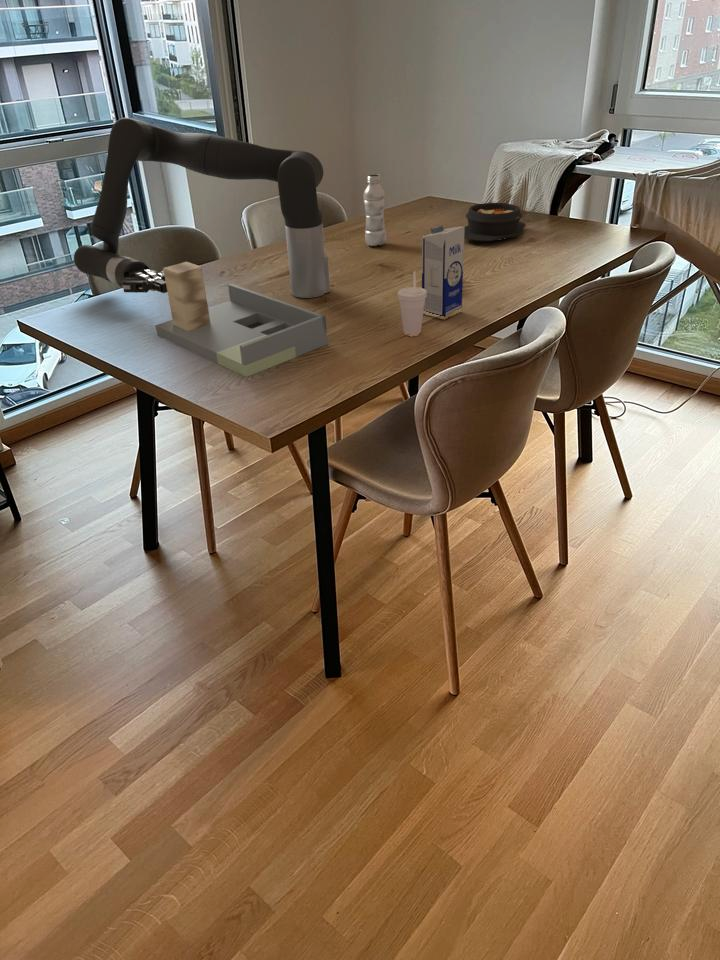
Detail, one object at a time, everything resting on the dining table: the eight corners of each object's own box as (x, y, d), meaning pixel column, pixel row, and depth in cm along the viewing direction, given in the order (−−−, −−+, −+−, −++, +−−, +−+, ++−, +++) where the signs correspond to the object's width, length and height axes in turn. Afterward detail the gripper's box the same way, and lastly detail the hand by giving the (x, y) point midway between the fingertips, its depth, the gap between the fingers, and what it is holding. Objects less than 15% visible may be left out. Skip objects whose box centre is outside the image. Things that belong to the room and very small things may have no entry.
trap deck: (234, 309, 186) (231, 283, 183) (327, 344, 165) (325, 316, 162) (157, 335, 174) (151, 308, 170) (246, 377, 153) (242, 346, 149)
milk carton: (444, 320, 174) (446, 232, 163) (421, 314, 178) (421, 227, 167) (462, 311, 179) (465, 225, 168) (439, 305, 183) (440, 221, 172)
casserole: (498, 250, 219) (500, 221, 215) (444, 241, 229) (445, 213, 225) (539, 231, 235) (541, 202, 231) (487, 223, 245) (488, 196, 241)
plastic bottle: (390, 243, 229) (389, 174, 219) (379, 249, 225) (377, 178, 214) (372, 241, 232) (370, 172, 222) (360, 247, 228) (357, 176, 217)
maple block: (195, 317, 175) (186, 261, 168) (210, 323, 172) (201, 266, 165) (173, 324, 172) (163, 268, 165) (188, 331, 168) (178, 273, 161)
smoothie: (424, 340, 165) (425, 276, 157) (395, 338, 166) (394, 276, 159) (428, 329, 170) (428, 267, 163) (400, 328, 172) (399, 266, 164)
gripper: (99, 264, 179) (137, 279, 168) (149, 251, 186) (188, 265, 176) (107, 295, 183) (144, 311, 172) (154, 281, 190) (193, 296, 180)
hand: (166, 288), depth 174 cm, fingers closed
